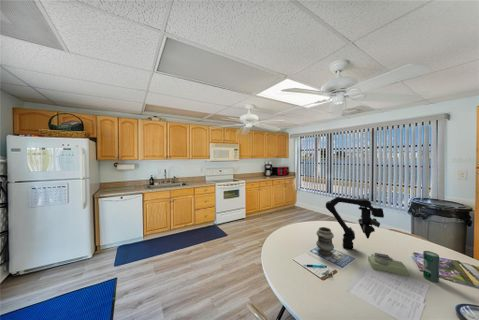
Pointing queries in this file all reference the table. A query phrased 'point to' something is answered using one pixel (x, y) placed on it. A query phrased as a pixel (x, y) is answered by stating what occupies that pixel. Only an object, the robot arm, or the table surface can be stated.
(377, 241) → the table surface
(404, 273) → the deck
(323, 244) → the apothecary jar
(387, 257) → the grey stepped block
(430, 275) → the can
